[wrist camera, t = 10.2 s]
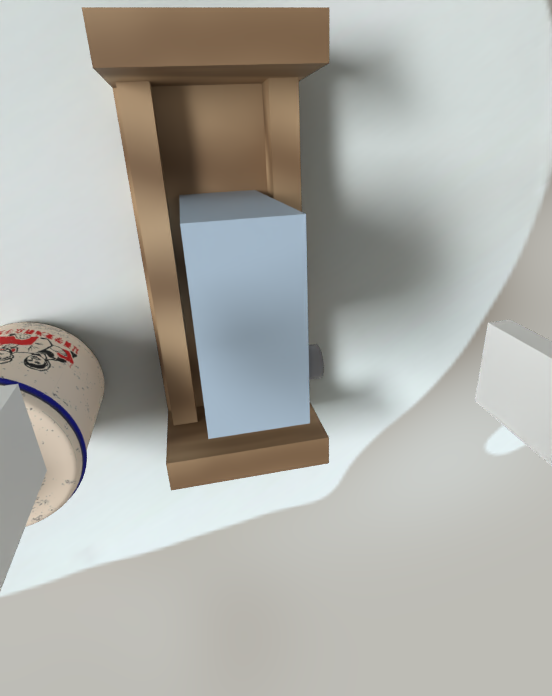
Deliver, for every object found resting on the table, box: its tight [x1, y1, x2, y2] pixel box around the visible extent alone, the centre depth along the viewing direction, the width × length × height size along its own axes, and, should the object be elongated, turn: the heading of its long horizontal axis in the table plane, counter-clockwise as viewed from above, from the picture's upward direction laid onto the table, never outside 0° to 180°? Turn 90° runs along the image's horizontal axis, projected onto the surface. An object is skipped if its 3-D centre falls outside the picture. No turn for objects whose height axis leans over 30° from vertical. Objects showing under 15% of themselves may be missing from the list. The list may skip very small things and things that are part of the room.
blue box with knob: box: [179, 190, 324, 439], centre depth 23 cm, size 9×6×12 cm, turn 3°
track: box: [82, 8, 329, 490], centre depth 26 cm, size 24×10×7 cm, turn 3°
